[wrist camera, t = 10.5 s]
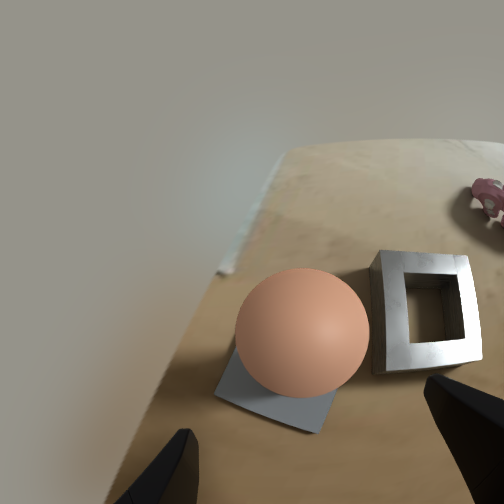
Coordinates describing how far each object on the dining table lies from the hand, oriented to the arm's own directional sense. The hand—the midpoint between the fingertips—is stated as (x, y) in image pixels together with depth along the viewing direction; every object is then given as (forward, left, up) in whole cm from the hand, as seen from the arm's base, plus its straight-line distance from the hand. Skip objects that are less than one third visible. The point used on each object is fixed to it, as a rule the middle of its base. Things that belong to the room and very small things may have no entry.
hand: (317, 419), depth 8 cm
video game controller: (+19, -25, -11) cm, 33 cm away
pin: (+3, +1, -10) cm, 10 cm away
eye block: (+7, -10, -10) cm, 16 cm away
